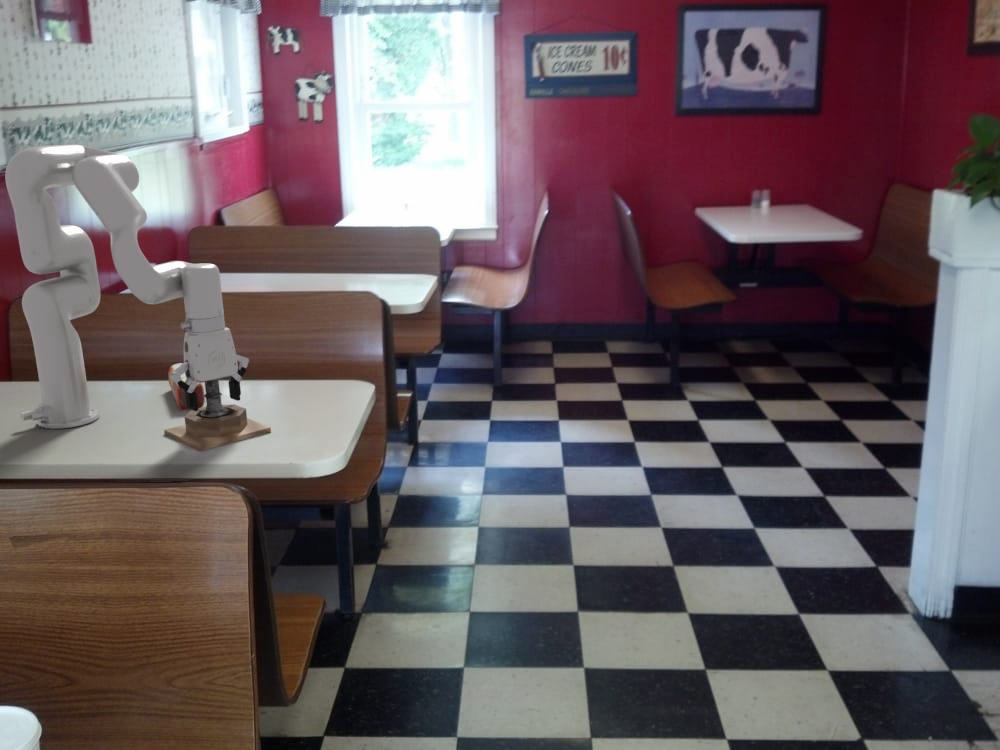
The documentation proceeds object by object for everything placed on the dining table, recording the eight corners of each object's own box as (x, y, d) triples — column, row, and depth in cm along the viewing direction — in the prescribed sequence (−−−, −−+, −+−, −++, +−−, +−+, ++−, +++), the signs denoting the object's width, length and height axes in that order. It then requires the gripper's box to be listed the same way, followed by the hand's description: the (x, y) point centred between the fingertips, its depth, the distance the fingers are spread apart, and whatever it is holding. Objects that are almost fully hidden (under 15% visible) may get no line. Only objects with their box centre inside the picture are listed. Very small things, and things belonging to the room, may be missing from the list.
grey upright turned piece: (235, 424, 216) (229, 369, 213) (225, 432, 211) (219, 376, 208) (208, 424, 217) (202, 369, 214) (197, 432, 211) (191, 377, 208)
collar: (201, 450, 203) (198, 429, 202) (164, 434, 214) (162, 413, 213) (271, 431, 214) (269, 411, 213) (232, 417, 225) (230, 397, 224)
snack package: (207, 409, 233) (204, 380, 231) (177, 413, 230) (173, 384, 229) (197, 386, 252) (194, 360, 250) (169, 390, 249) (166, 363, 248)
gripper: (174, 334, 200) (184, 417, 204) (252, 319, 211) (260, 398, 216) (157, 329, 205) (167, 410, 209) (234, 315, 216) (242, 392, 221)
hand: (214, 404), depth 213 cm, fingers open, 9 cm apart
